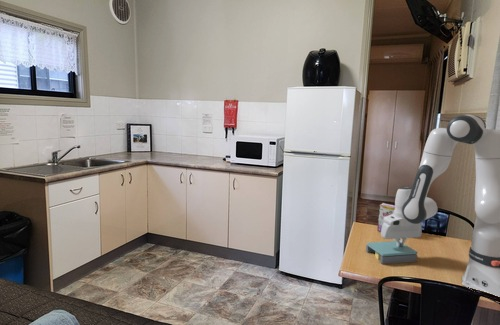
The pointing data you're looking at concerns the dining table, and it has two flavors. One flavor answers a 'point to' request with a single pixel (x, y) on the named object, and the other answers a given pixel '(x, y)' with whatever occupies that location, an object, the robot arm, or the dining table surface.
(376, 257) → the pale yellow strip
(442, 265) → the dining table surface
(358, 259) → the dining table surface
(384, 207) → the candy bar box
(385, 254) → the panel
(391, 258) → the pair of grey bars
